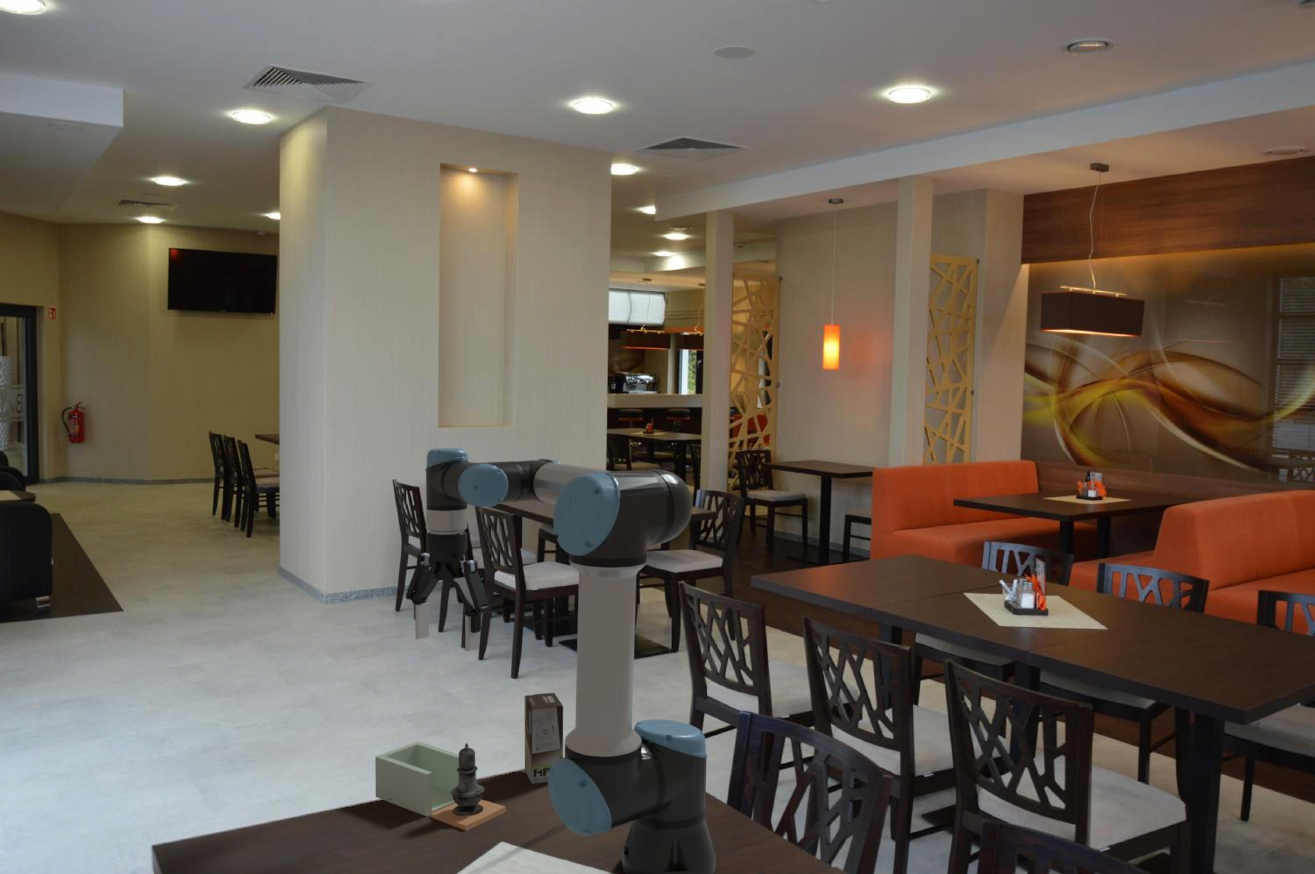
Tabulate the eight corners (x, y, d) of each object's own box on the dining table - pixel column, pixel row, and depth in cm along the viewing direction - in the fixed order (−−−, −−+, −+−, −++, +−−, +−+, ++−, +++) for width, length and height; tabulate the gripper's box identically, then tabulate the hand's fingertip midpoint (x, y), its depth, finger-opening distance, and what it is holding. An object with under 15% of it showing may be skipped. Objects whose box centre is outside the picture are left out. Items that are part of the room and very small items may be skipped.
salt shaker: (476, 818, 172) (475, 749, 172) (445, 815, 174) (443, 747, 174) (490, 804, 178) (488, 738, 178) (459, 802, 180) (458, 736, 179)
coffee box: (564, 787, 192) (564, 705, 191) (531, 791, 190) (531, 708, 189) (554, 770, 201) (554, 691, 200) (523, 773, 199) (523, 694, 198)
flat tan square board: (470, 801, 183) (506, 812, 177) (430, 819, 175) (466, 831, 169) (470, 796, 182) (505, 806, 177) (430, 813, 175) (466, 825, 169)
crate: (468, 805, 183) (468, 757, 183) (426, 824, 175) (426, 774, 175) (417, 787, 191) (417, 741, 191) (375, 804, 183) (375, 756, 183)
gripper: (509, 535, 181) (508, 650, 182) (417, 522, 196) (417, 629, 197) (479, 540, 175) (479, 659, 176) (387, 527, 190) (387, 636, 191)
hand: (446, 643), depth 186 cm, fingers open, 13 cm apart
